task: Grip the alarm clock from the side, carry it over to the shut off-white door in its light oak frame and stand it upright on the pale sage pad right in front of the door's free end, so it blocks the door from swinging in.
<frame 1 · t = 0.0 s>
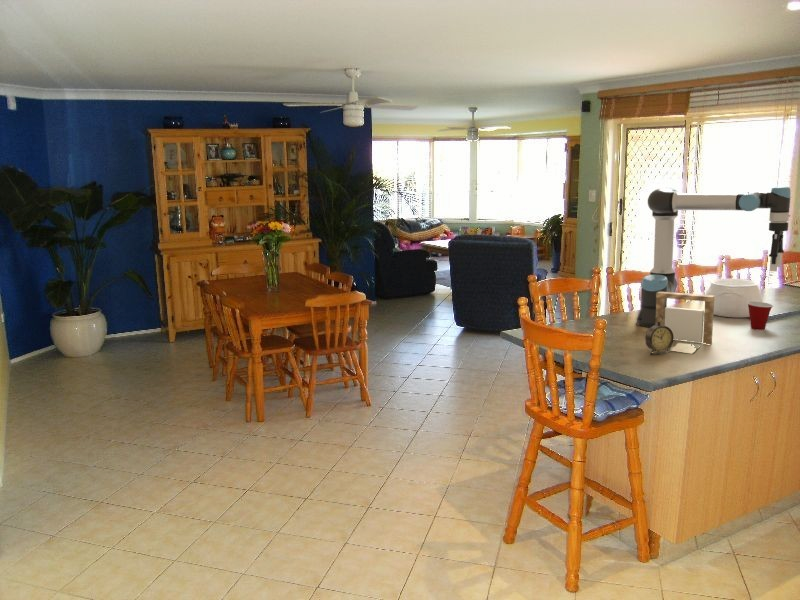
hand: (775, 269, 309), 28 cm above the worktop, tool pointing down, fingers open, 13 cm apart
door frame: (682, 341, 300), on the worktop
alarm clock: (658, 353, 284), on the worktop
door: (683, 324, 299), point 7 cm above the worktop, hinge at 0.0°
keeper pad: (685, 348, 289), on the worktop
white pet bowl: (732, 313, 349), on the worktop
plastic cup: (758, 328, 318), on the worktop
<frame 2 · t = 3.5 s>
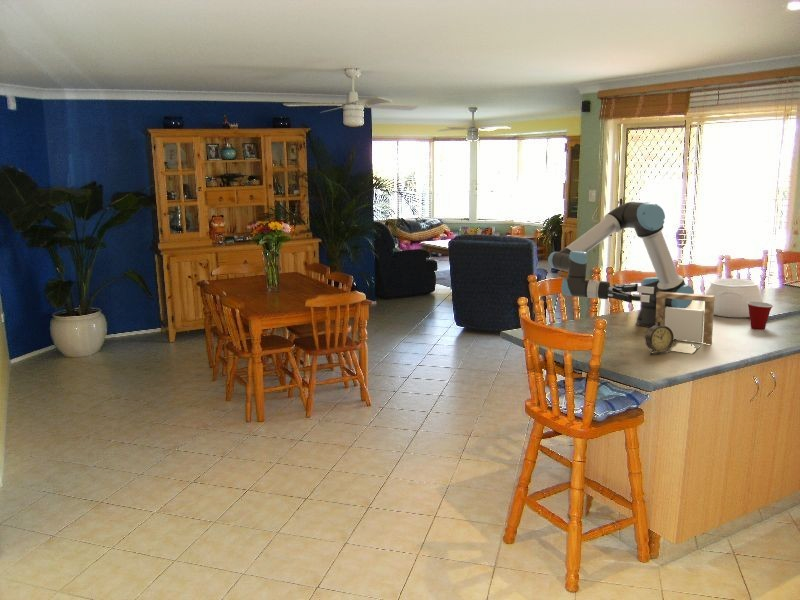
hand: (651, 294, 283), 24 cm above the worktop, tool horizontal, fingers open, 13 cm apart
nothing on the worktop moved.
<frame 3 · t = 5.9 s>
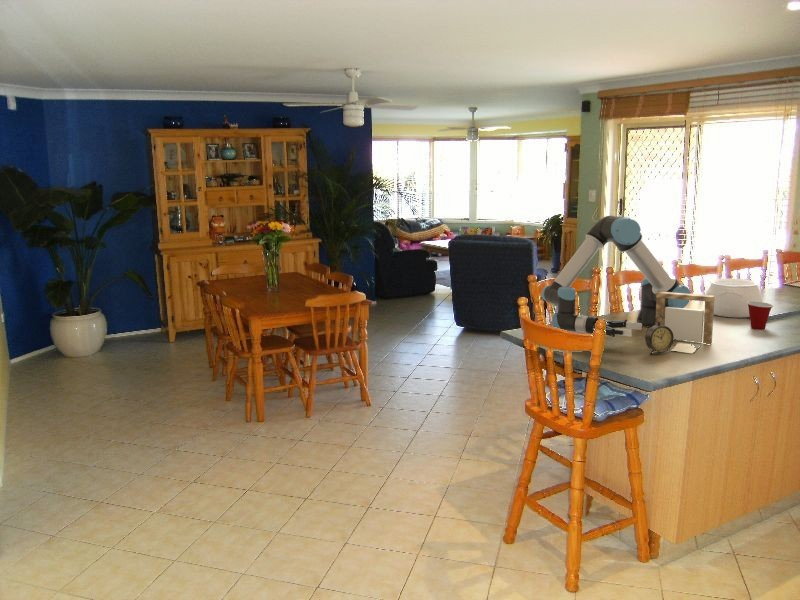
hand: (636, 329, 287), 9 cm above the worktop, tool horizontal, fingers open, 13 cm apart
nothing on the worktop moved.
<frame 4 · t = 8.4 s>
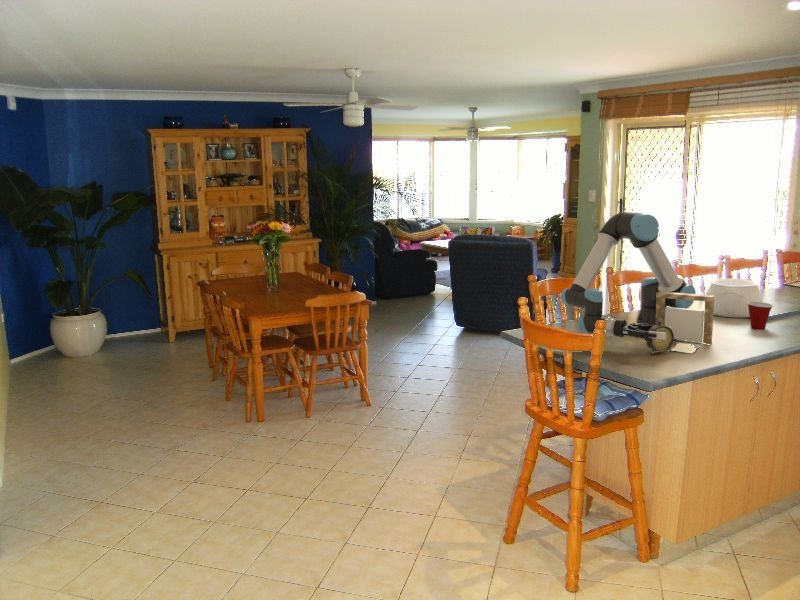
hand: (669, 333, 279), 9 cm above the worktop, tool horizontal, fingers closed on alarm clock, 10 cm apart
alarm clock: (658, 353, 284), on the worktop, touching gripper
everything else where it was.
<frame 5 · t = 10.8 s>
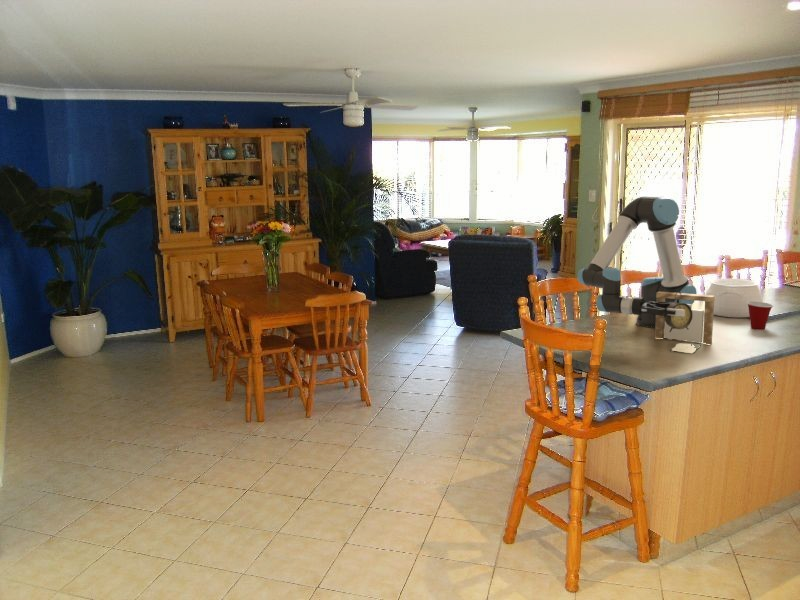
hand: (687, 310, 281), 18 cm above the worktop, tool horizontal, fingers closed on alarm clock, 10 cm apart
alarm clock: (677, 331, 285), point 8 cm above the worktop, touching gripper
everything else where it was.
when the fingers open (11 cm above the worktop, at t = 13.0 s): alarm clock drops 1 cm, resting on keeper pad.
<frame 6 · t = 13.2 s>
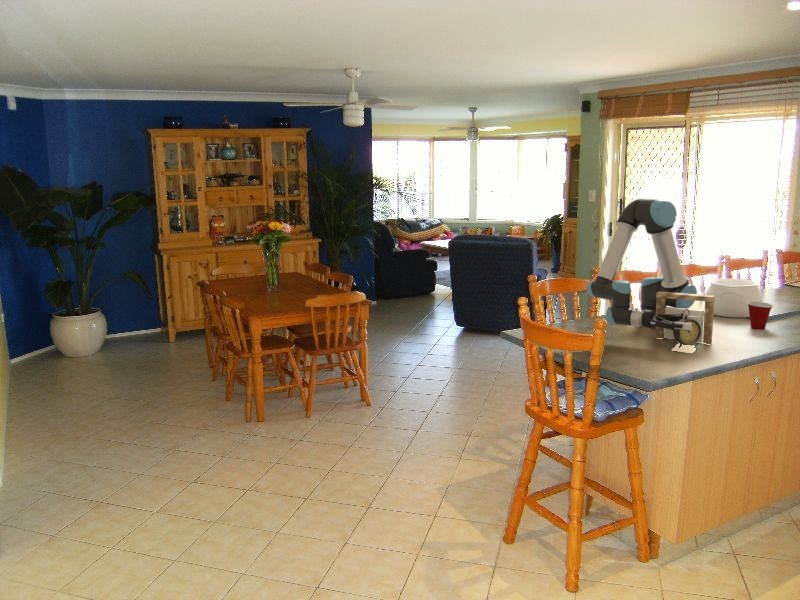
hand: (695, 323, 284), 11 cm above the worktop, tool horizontal, fingers open, 13 cm apart
alarm clock: (686, 346, 289), point 1 cm above the worktop, touching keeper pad
everything else where it was.
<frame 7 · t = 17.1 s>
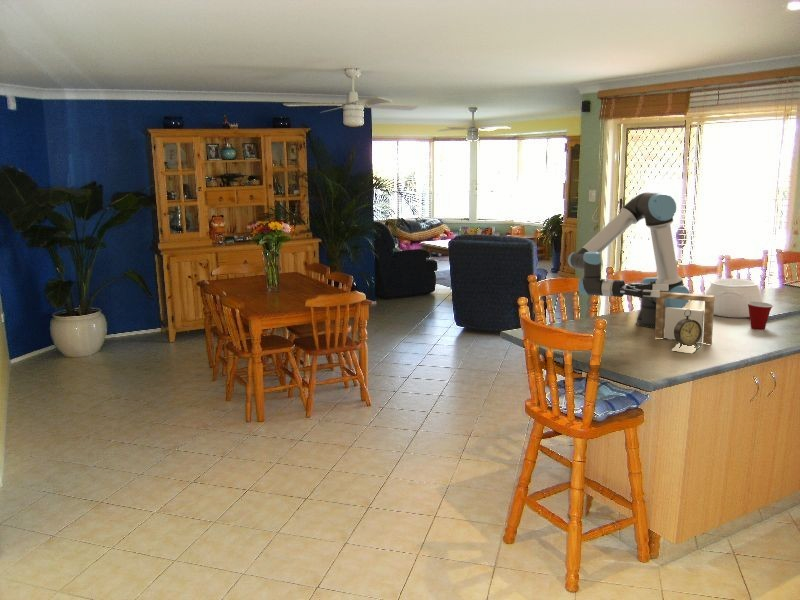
hand: (664, 290, 289), 24 cm above the worktop, tool horizontal, fingers open, 13 cm apart
nothing on the worktop moved.
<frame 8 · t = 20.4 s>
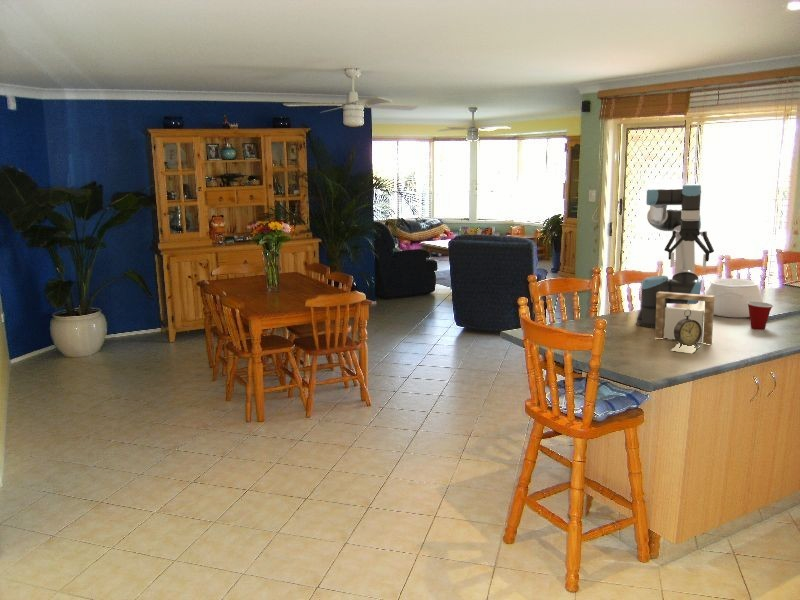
hand: (688, 267, 305), 31 cm above the worktop, tool pointing down, fingers open, 13 cm apart
nothing on the worktop moved.
at the end: alarm clock inside the target area (0.3 cm from its centre), point 0.6 cm above the worktop; alarm clock tilted 0°; door at +0° (first picture: +0°) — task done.
